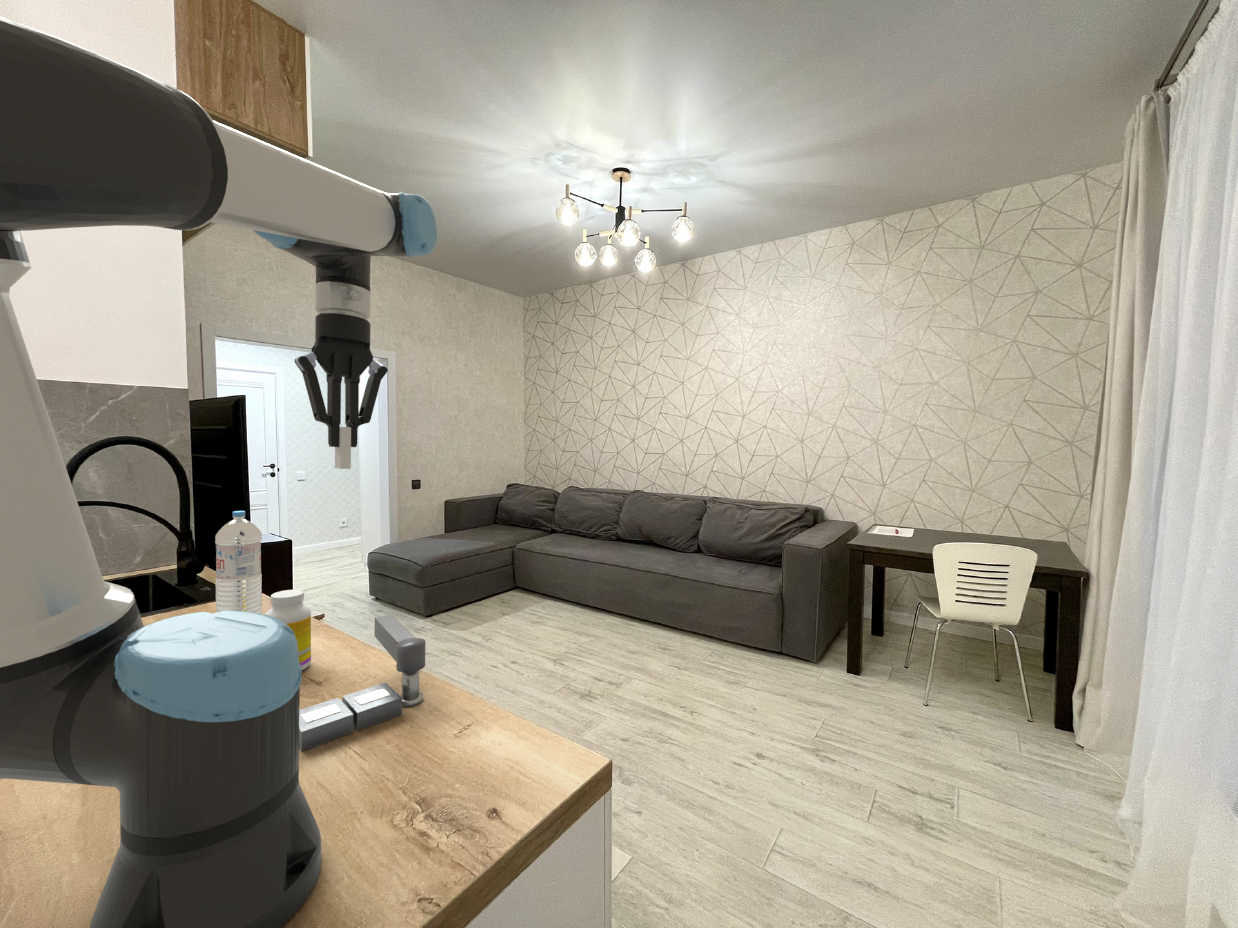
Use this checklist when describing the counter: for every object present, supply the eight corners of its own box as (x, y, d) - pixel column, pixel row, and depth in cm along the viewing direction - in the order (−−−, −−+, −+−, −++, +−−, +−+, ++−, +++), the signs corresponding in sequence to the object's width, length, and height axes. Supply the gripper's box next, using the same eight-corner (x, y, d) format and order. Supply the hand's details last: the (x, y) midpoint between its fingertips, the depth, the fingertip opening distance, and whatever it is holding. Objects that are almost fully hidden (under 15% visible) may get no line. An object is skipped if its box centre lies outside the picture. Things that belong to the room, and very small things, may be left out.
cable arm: (370, 637, 86) (370, 617, 85) (395, 632, 88) (395, 612, 88) (401, 675, 73) (401, 650, 72) (429, 667, 75) (429, 644, 75)
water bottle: (222, 640, 95) (221, 509, 94) (265, 635, 98) (265, 508, 97) (210, 654, 89) (209, 514, 88) (257, 649, 92) (257, 513, 91)
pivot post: (403, 709, 73) (403, 677, 73) (393, 700, 76) (393, 668, 75) (427, 700, 76) (428, 669, 75) (417, 692, 78) (417, 661, 78)
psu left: (301, 751, 63) (301, 731, 63) (289, 731, 67) (289, 712, 67) (353, 732, 67) (353, 713, 67) (338, 714, 71) (338, 696, 71)
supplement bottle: (320, 661, 88) (320, 588, 87) (291, 679, 81) (291, 600, 81) (284, 658, 88) (284, 586, 88) (253, 676, 82) (253, 598, 81)
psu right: (357, 731, 67) (357, 712, 67) (342, 713, 72) (342, 695, 71) (402, 714, 72) (402, 696, 72) (385, 698, 76) (385, 681, 76)
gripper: (302, 303, 71) (301, 470, 72) (395, 321, 80) (394, 468, 81) (288, 312, 76) (288, 467, 77) (377, 328, 85) (376, 466, 86)
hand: (342, 468), depth 79 cm, fingers closed
